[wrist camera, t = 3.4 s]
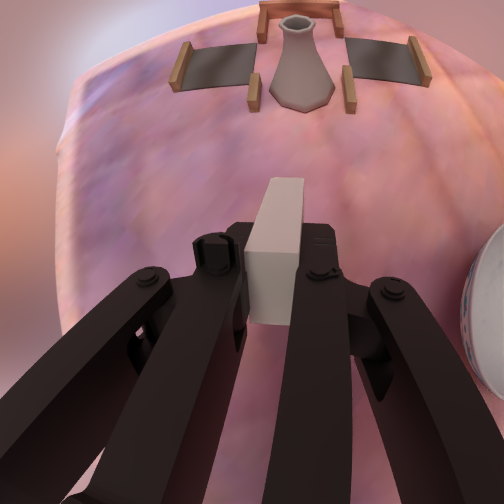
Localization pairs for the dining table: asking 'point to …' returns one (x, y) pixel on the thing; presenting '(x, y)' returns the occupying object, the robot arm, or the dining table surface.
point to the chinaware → (485, 314)
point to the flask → (300, 68)
